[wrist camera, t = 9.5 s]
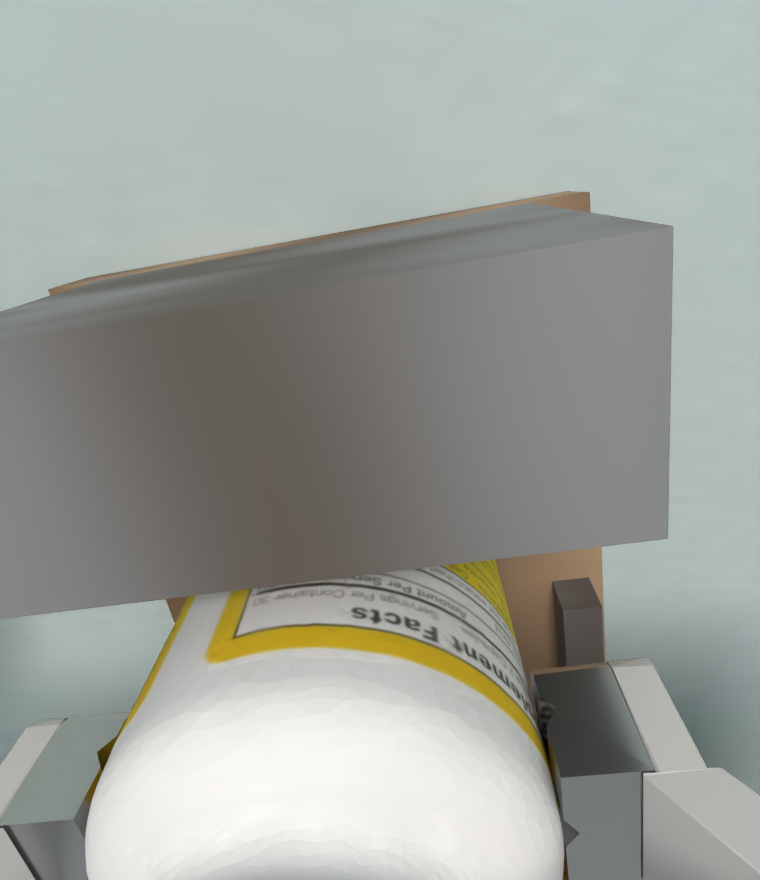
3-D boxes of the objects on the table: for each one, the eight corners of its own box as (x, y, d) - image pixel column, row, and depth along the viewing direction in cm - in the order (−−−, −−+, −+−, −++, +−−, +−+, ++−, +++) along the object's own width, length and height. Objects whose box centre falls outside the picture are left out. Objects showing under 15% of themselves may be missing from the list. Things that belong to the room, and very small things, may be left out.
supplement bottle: (339, 664, 15) (235, 1431, 6) (188, 504, 13) (-297, 1225, 4) (533, 559, 13) (806, 1359, 4) (391, 365, 12) (343, 995, 3)
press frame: (297, 874, 20) (242, 1228, 13) (87, 277, 13) (-293, 392, 6) (598, 853, 19) (705, 1224, 12) (567, 191, 12) (803, 203, 5)
